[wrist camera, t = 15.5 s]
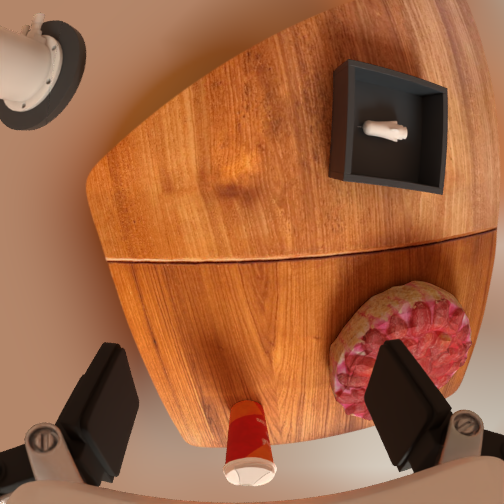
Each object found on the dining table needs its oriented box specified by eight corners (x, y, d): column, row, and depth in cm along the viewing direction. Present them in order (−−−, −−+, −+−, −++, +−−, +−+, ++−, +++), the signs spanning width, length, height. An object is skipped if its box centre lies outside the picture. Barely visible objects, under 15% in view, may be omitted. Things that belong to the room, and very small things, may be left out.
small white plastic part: (365, 105, 31) (375, 101, 29) (402, 130, 33) (414, 129, 30) (353, 128, 32) (363, 126, 29) (391, 153, 33) (403, 154, 30)
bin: (333, 71, 31) (348, 58, 25) (424, 93, 31) (447, 88, 26) (328, 177, 35) (343, 181, 30) (419, 188, 35) (442, 194, 30)
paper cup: (263, 425, 48) (269, 488, 34) (221, 421, 47) (219, 485, 34) (274, 398, 45) (284, 465, 32) (228, 392, 44) (227, 462, 31)
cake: (471, 269, 38) (499, 291, 31) (437, 381, 47) (452, 408, 40) (330, 284, 40) (345, 316, 32) (320, 404, 48) (327, 438, 41)
